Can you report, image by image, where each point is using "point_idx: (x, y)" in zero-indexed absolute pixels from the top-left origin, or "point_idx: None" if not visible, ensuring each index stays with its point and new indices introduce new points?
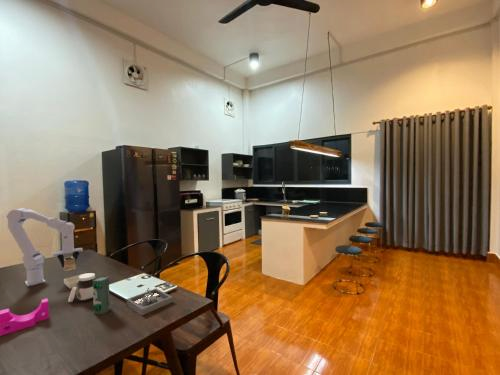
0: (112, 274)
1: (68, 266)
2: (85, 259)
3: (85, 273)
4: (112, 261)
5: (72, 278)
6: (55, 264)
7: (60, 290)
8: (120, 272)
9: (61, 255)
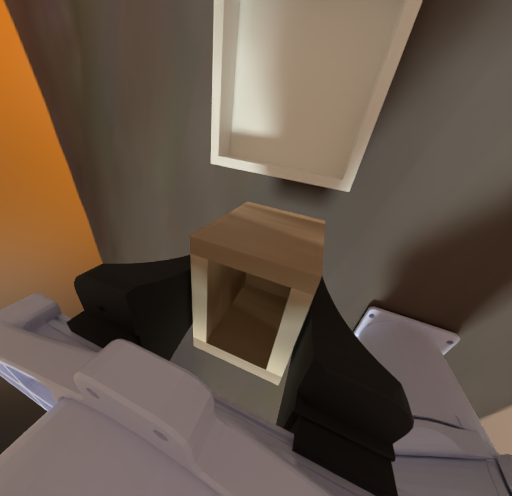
0: (116, 61)
1: (294, 226)
2: None
3: (216, 163)
4: (106, 261)
5: (298, 170)
6: (238, 400)
7: (474, 34)
8: (79, 53)
9: (324, 435)
